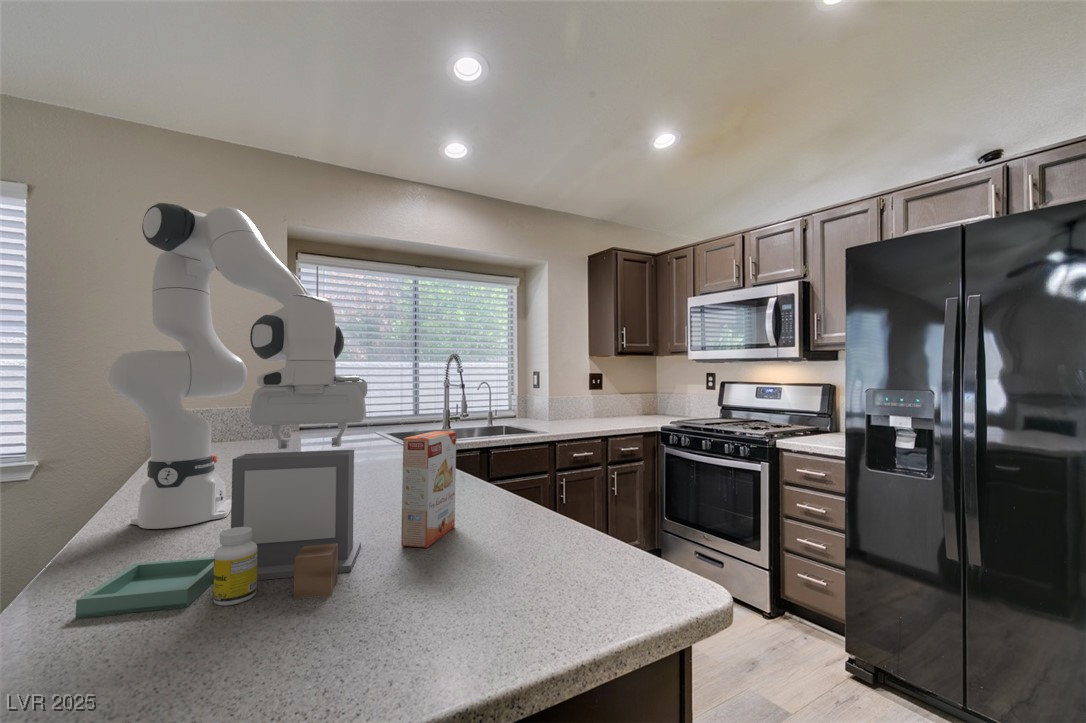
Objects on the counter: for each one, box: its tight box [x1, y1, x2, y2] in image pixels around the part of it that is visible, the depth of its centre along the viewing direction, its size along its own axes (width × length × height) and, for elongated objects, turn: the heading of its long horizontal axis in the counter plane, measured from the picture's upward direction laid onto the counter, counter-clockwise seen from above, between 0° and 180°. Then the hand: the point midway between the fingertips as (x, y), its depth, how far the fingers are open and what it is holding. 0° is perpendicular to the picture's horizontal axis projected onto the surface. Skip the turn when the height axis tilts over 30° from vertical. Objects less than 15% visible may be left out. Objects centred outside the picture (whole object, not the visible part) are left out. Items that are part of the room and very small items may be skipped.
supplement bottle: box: [212, 527, 258, 607], centre depth 69 cm, size 5×5×10 cm
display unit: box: [230, 449, 362, 581], centre depth 82 cm, size 12×20×19 cm, turn 104°
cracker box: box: [400, 430, 457, 549], centre depth 96 cm, size 14×6×21 cm, turn 168°
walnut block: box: [293, 543, 338, 600], centre depth 71 cm, size 5×5×6 cm
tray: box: [75, 556, 214, 620], centre depth 71 cm, size 13×13×2 cm
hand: (310, 447), depth 91 cm, fingers open, 8 cm apart
